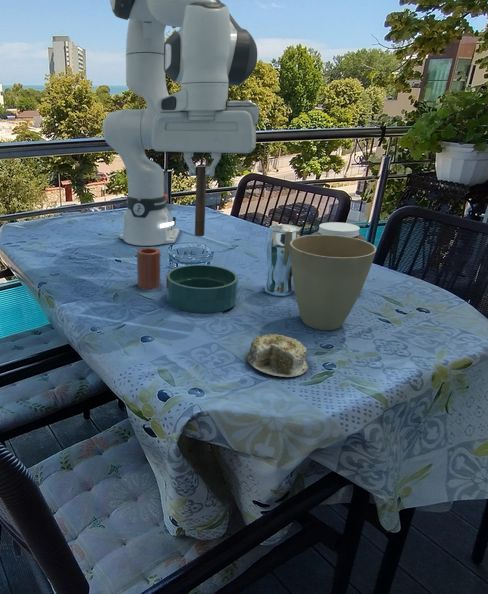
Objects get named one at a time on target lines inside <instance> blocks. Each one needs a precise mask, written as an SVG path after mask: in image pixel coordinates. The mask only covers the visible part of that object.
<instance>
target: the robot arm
mask: <svg viewBox="0 0 488 594" xmlns="http://www.w3.org/2000/svg"><path fill="white" fill-rule="evenodd" d="M109 4H110V7H111V11H112V13H113V14H114V16H115V18H118V19H121V20H125V21H128V25H127V30H126V32H127V33H126V41H125V83H126V87H127V88H128V90H129V91H131V92H132V94H135V95H136V96H138V97H140V98H142V99H144V101H145V104H146V108H144V109H143V108H142V109H141V108H140V109H138V108H135V109H119V110H115V111H112V112H109V113H107V115H106V116H105V117H104V119H103V122H102V126H101V129H102V130H101V131H102V136H103V138H104V141H105V142H106V144H107V145H108V146H109V147H111V148H112V149H113V150H114V151H115V152H116V153H117V155H118V156H119V157H120V159H121V161H122V163H123V165H124V169H125V172H126V180H127V181H126V182H127V196H126V208H127V209H126V211H125V212H123V221H122V233H119V235H118V236H119V239H120V240H123V241H124V242H125V243H126V244H129V245H132V246H140V247H142V246H143V247H147V246H148V247H149V246H151V247H152V246H159V245H165V244H166V245H167V244H174V243H175V242H176V240H177V239H178V237H179V234H180V233H181V232H180V230H181V229H180V228H177V227H175V226H176V223H177V222H176V218H177V217H176V216H173V214H172V213H171V212H170V211H169V209H168V208H167V201H168V199H169V196H168V193H165V173H164V169H163V168H162V167H161V165H160V164H158V163H156V161H153V160H152V159H149V158H148V156H147V155H146V152H145V150H154V152H170V153H175V152H177V153H183V159H184V162H185V164H186V165H187V167H188V176H189V177H196V174H197V166H198V165H195V164H194V162H193V160H192V158H193V157H194V153H211V156H210V158H211V159H212V162H211V164H210V165H209V166H207V167H206V168H205V171H206V173H205V176H206V178H207V177H209V178H213V177H215V174H216V173H215V171H216V167H217V165H218V164H219V161H220V160H221V158H222V154H251V153H252V152H253V151H254V150H255V149H256V146H257V128H256V125H257V124H258V122H259V117H260V108H259V106H258V105H257V103H255V102H253V101H252V100H251V99H244V100H235V99H233V100H232V99H231V100H229V86H235V87H236V86H237V87H238V86H241V85H242V84H243V83H244V82H245V81H246V80H248V79H249V77H250V76H251V75H252V74H253V73H254V71H255V70H256V67H257V62H258V47H257V43H256V41H255V39H254V37H253V36H252V35H251V33H250V32H249V31H248V29H245V28H242V27H241V26H240V25H239V24H238V22H237V21H236V19H234V17H233V16H232V15H231V13H230V10H229V6H227V4H225V3H223V2H221V0H109ZM166 27H171V28H172V29H176V28H179V29H178V30H176V31H173V32H172V34H170V36H169V37H168V38H167V39H166V38H165V33H166V32H165V31H166ZM166 75H167V77H168V78H169V79H170V80H171V81H172V82H173V83H177V84H180V90H179V91H177V92H174V93H172V94H169V92H168V91H169V90H168V87H167V81H166V80H167V79H166Z"/></svg>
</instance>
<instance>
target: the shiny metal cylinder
mask: <svg viewBox="0 0 488 594" xmlns="http://www.w3.org/2000/svg"><path fill="white" fill-rule="evenodd" d="M297 237H301V227H300V226H298V225H295V224H287V223H284V224H283V223H279V224H272V225H270V226H269V229H268V234H267V242H266V264H267V265H266V266H267V279H266V283H265V286H264V292H265V293H267V294H269V295H271V296H275V297H286V296H290V295H291V294H293V285H292V284H293V278H292V269H291V255H290V242H291V241H292V240H293V239H295V238H297Z"/></svg>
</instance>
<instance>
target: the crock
mask: <svg viewBox="0 0 488 594" xmlns="http://www.w3.org/2000/svg"><path fill="white" fill-rule="evenodd" d="M136 270H137V272H136V273H137V279H136V280H137V287H138V288H140V289H142V290H154V289H158V288H160V287H161V250H160V249H159V248H156V247H141V248H138V249H137V250H136Z"/></svg>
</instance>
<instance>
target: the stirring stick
mask: <svg viewBox="0 0 488 594" xmlns="http://www.w3.org/2000/svg"><path fill="white" fill-rule="evenodd" d="M196 166H197V174H196V176H195V177H196V180H195V207H194V208H195V209H194V210H195V212H194V236H195V237H204V236H205V226H206V202H207V201H206V199H207V177H206V176H205V173H206V171H205V168H206V167H208V165H196Z"/></svg>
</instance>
